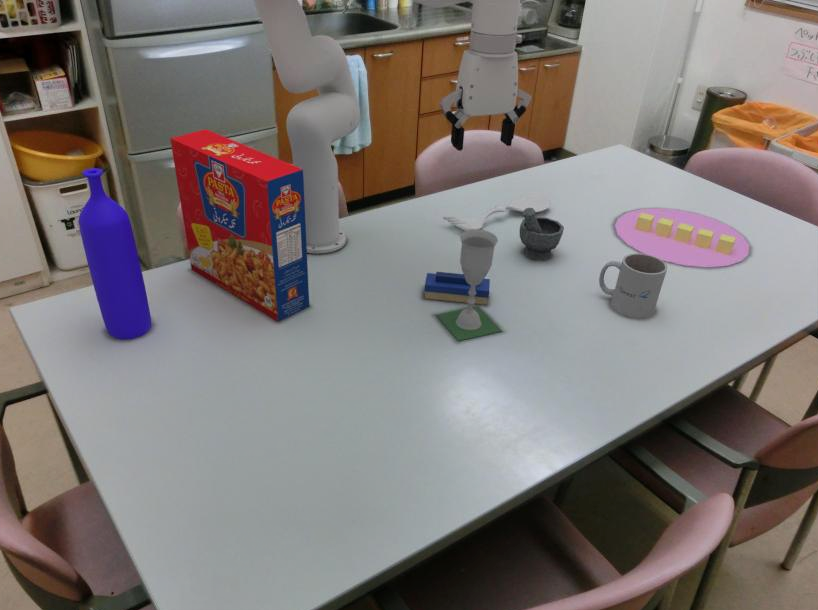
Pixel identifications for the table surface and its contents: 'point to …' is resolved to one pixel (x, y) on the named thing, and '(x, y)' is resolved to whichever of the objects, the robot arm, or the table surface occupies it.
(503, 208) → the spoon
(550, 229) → the mortar and pestle
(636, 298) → the mug
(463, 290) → the brush
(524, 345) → the table surface
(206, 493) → the table surface
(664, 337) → the table surface
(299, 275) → the pasta box
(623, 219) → the platter
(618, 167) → the table surface
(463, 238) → the chalice
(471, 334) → the green cloth
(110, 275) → the bottle
